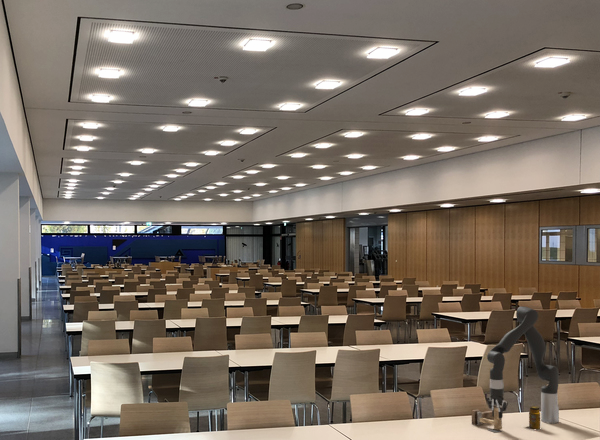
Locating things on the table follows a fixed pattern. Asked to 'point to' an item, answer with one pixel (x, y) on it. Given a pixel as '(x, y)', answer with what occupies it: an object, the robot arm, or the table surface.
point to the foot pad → (494, 430)
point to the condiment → (534, 418)
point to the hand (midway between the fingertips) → (497, 417)
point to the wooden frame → (496, 422)
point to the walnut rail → (484, 415)
